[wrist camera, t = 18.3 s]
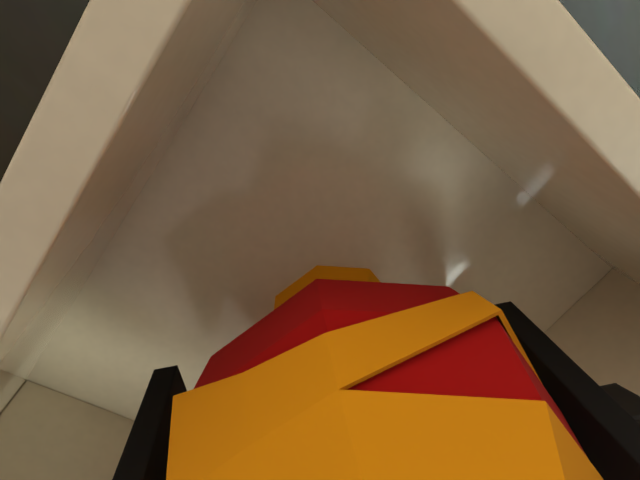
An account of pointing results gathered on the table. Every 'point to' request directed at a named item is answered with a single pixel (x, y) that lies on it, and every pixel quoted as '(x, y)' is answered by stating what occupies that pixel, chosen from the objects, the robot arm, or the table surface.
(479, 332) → the potion bottle
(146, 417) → the robot arm
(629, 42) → the table surface
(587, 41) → the cream open box
